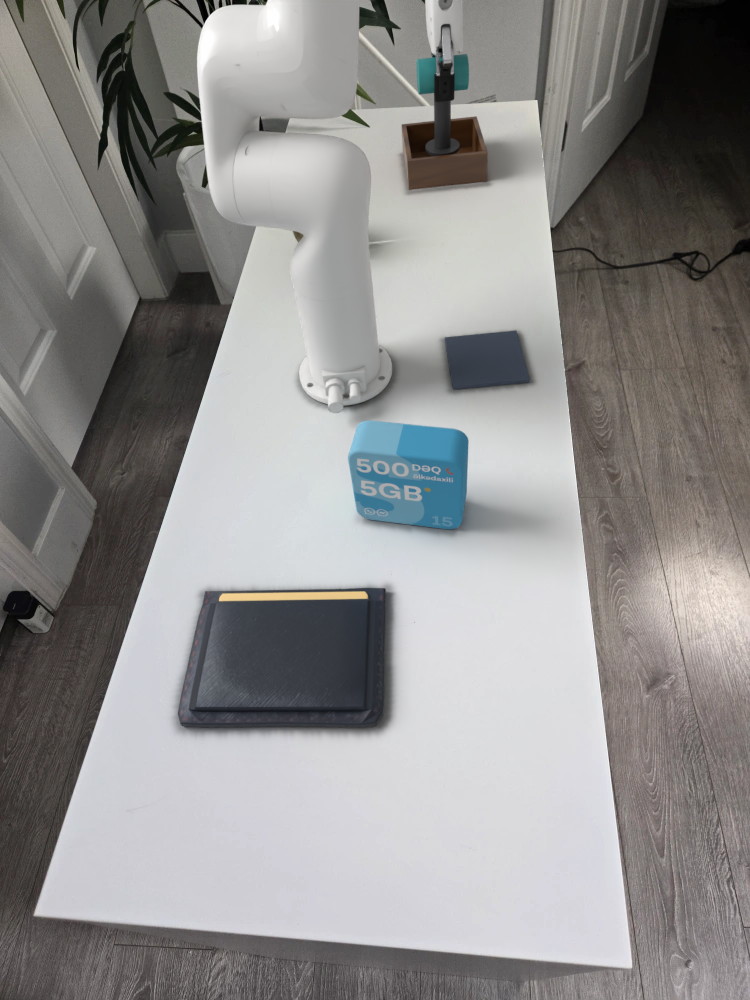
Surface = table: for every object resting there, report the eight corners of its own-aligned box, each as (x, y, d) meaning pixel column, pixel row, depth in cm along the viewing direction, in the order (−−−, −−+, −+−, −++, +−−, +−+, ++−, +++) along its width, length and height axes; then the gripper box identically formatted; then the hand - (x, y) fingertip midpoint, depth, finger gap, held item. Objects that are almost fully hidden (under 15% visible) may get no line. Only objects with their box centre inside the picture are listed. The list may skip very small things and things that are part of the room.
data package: (357, 519, 81) (345, 449, 72) (365, 488, 84) (355, 417, 75) (461, 531, 79) (463, 462, 70) (466, 500, 82) (469, 428, 72)
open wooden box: (486, 184, 124) (487, 152, 119) (408, 192, 124) (407, 161, 120) (475, 146, 132) (476, 116, 128) (402, 154, 132) (401, 124, 128)
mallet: (467, 154, 123) (469, 62, 111) (421, 159, 123) (419, 67, 112) (463, 138, 126) (464, 47, 115) (418, 143, 127) (415, 52, 115)
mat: (529, 382, 93) (529, 379, 92) (453, 389, 93) (453, 386, 93) (516, 333, 99) (516, 330, 98) (444, 340, 99) (444, 337, 99)
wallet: (169, 719, 67) (202, 580, 76) (175, 726, 68) (207, 589, 77) (381, 726, 65) (389, 582, 74) (382, 733, 66) (390, 591, 75)
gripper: (476, -25, 98) (471, 113, 112) (460, -60, 109) (458, 70, 123) (421, -19, 98) (424, 118, 112) (411, -55, 109) (415, 74, 123)
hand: (442, 91), depth 117 cm, fingers closed on mallet, 5 cm apart
